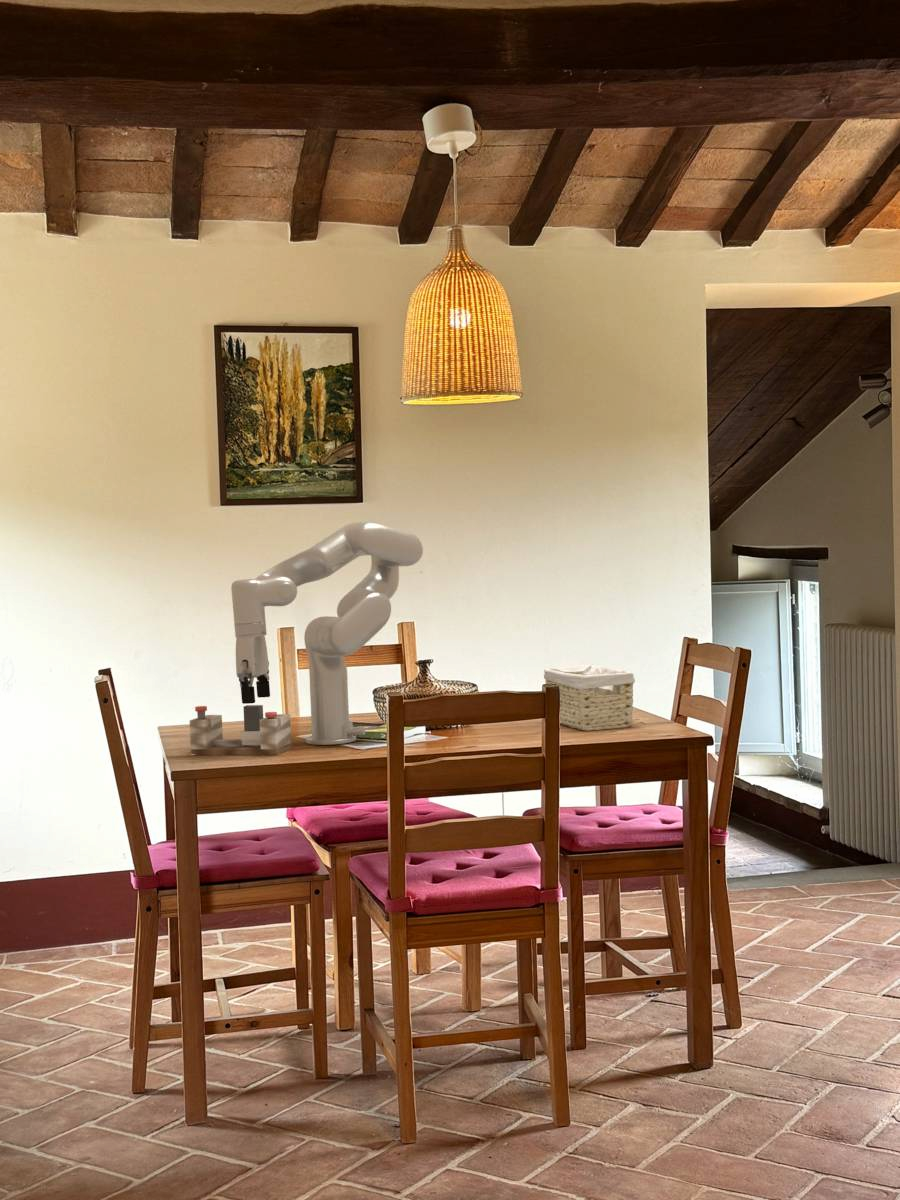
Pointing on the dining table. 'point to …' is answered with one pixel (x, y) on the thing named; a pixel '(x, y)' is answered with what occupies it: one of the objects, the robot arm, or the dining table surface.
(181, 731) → the dining table surface
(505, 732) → the dining table surface
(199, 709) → the red rounded knob
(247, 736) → the carriage
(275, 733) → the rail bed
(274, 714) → the red knob cap
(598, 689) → the storage basket
